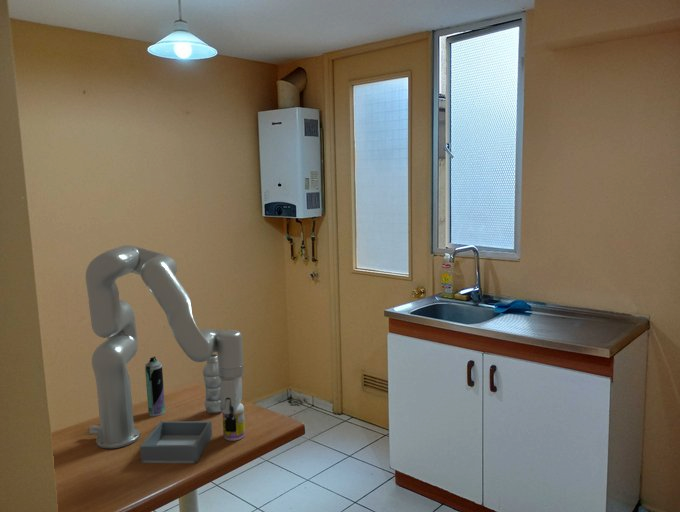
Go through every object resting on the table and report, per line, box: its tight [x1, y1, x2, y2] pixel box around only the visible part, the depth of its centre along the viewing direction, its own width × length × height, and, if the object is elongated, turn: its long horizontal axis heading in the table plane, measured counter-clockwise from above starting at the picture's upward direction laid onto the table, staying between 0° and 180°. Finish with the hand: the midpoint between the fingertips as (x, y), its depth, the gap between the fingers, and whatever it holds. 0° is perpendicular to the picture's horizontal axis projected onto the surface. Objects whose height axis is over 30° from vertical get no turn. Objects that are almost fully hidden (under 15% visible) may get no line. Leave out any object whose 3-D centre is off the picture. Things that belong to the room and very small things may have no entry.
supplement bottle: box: [221, 399, 246, 442], centre depth 171 cm, size 7×7×13 cm
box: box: [139, 420, 213, 464], centre depth 165 cm, size 16×16×5 cm
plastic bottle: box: [202, 353, 222, 414], centre depth 189 cm, size 6×7×20 cm
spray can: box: [144, 356, 166, 417], centre depth 189 cm, size 6×6×20 cm
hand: (233, 425), depth 172 cm, fingers closed on supplement bottle, 6 cm apart
